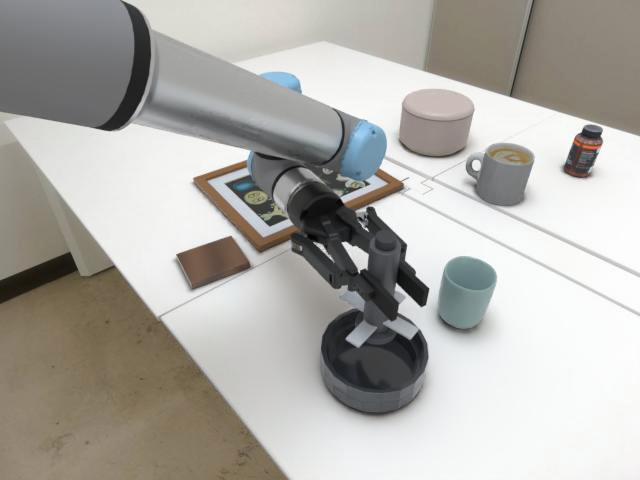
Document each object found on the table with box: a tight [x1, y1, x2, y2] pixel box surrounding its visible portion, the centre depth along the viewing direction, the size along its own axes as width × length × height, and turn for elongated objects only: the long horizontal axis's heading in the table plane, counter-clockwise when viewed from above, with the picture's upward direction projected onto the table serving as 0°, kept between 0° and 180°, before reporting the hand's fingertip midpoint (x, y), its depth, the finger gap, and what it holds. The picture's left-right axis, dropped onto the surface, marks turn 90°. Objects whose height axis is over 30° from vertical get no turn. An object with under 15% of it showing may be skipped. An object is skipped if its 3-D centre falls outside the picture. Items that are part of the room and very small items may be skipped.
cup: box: [437, 255, 498, 330], centre depth 71 cm, size 8×8×10 cm
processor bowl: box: [320, 307, 430, 414], centre depth 65 cm, size 15×15×6 cm
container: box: [398, 88, 476, 157], centre depth 118 cm, size 18×18×12 cm
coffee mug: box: [465, 142, 536, 206], centre depth 101 cm, size 13×10×10 cm
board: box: [175, 235, 251, 290], centre depth 85 cm, size 11×9×2 cm
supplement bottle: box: [563, 123, 604, 178], centre depth 106 cm, size 6×6×11 cm
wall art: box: [192, 159, 405, 253], centre depth 105 cm, size 31×2×38 cm
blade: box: [339, 230, 420, 348], centre depth 56 cm, size 11×11×16 cm
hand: (410, 304), depth 51 cm, fingers closed on blade, 4 cm apart
